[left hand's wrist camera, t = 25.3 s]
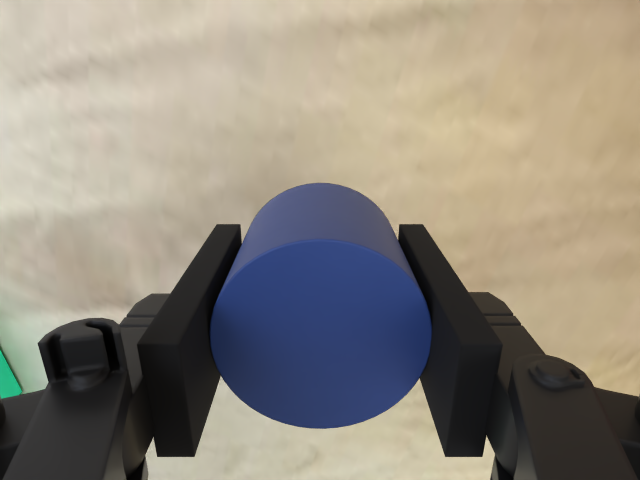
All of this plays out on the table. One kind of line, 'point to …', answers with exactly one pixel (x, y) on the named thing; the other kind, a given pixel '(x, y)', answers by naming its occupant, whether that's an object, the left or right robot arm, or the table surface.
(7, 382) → the camera mount
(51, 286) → the table surface
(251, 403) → the canister
